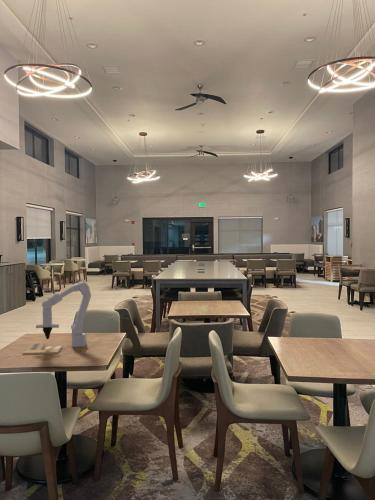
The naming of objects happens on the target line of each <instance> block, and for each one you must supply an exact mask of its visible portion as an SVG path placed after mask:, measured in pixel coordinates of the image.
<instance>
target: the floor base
mask: <svg viewBox="0 0 375 500" xmlns="http://www.w3.org/2000/svg"><path fill="white" fill-rule="evenodd" d="M45 348H46V347H44V349H45ZM63 349H64V347H63V348H62V349H61V350H63ZM61 350H60V349H54V350H27V349H26V350H25V351H23V352H22V356H25V355H26V356H27V355H28V356H30V355H32V356H33V355H58V354H60V352H61Z"/></svg>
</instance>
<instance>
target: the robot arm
mask: <svg viewBox="0 0 375 500" xmlns="http://www.w3.org/2000/svg"><path fill="white" fill-rule="evenodd" d="M73 292H80V294H81V295H82V299H81V302H80V305H79V308H78V311H77V315H76V317H75V319H74V321H73V323H72V324H71V328H70V329H71V347H72V348H83V347H84V348H85V347H86V346H87V334H86V333H84V332H83V330H84V329H83V327H84V319H85V316H86V313H87V310H88V307H89V303H90V302H91V301H90V300H91V298H92V294H91V290H90V286H89V285H88V283H86V282H84V281H83V280H82V281H78V282H77V283H74V284H73V285H70V286H69V287H68V288H66V289H65V290H63V291H62V292H60V293H58V292H57V293H56V292H55V293H54V294H53V295H52V296H51V297H47V299H44V300H43V301H42V302H41V307H42V324H36V325H35V328H36V329H42V332H43V334H44V336H45V339H46V340H49V339H50V337H51V336H50V335H51V332H52V330H53V329H54V328H56V329H59V327H60V324H54V323H53V313H52V308H53V306H55V305H57V304H59V303H60V302H62V301H63V298H65V297H66V296H68V295H70V294H71V293H73Z"/></svg>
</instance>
